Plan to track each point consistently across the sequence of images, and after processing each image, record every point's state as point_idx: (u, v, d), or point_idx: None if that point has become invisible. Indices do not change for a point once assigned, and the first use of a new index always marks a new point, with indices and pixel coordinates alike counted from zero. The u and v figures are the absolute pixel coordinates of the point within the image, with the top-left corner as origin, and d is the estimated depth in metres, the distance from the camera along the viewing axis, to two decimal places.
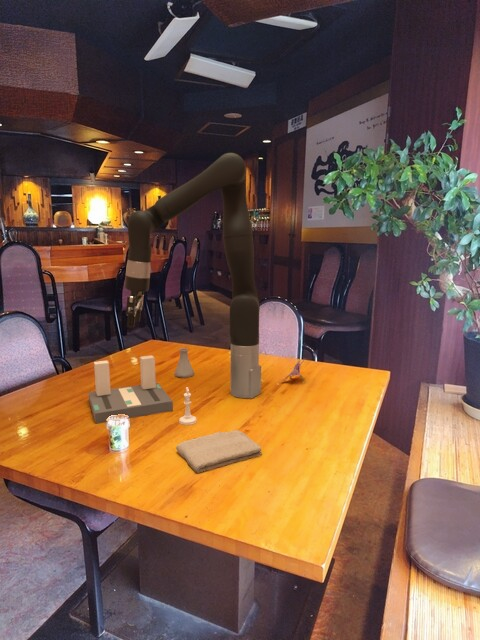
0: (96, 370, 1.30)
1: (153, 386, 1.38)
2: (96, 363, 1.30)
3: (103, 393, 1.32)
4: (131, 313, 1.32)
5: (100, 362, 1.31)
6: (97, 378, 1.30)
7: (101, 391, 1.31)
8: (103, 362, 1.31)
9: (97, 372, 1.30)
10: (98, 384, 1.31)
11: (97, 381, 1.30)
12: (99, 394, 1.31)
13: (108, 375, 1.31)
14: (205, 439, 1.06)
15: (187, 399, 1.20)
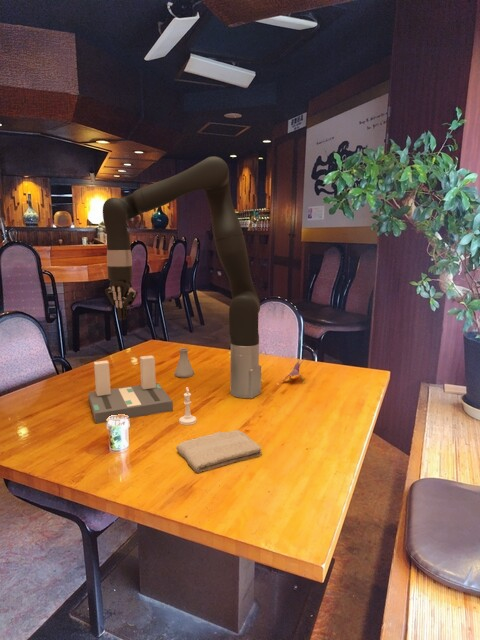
0: (96, 370, 1.30)
1: (153, 386, 1.38)
2: (96, 363, 1.30)
3: (103, 393, 1.32)
4: (130, 303, 1.36)
5: (100, 362, 1.31)
6: (97, 378, 1.30)
7: (101, 391, 1.31)
8: (103, 362, 1.31)
9: (97, 372, 1.30)
10: (98, 384, 1.31)
11: (97, 381, 1.30)
12: (99, 394, 1.31)
13: (108, 375, 1.31)
14: (206, 439, 1.06)
15: (187, 399, 1.20)
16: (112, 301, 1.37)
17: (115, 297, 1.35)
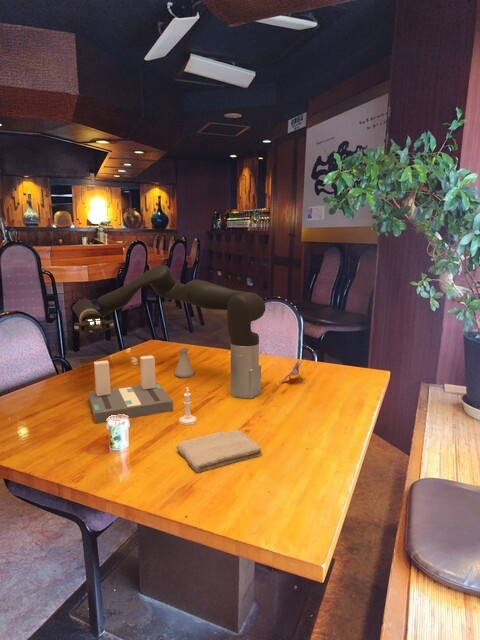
0: (96, 370, 1.30)
1: (153, 386, 1.38)
2: (96, 363, 1.30)
3: (103, 393, 1.32)
4: (105, 328, 1.40)
5: (100, 362, 1.31)
6: (97, 378, 1.30)
7: (101, 391, 1.31)
8: (103, 362, 1.31)
9: (97, 372, 1.30)
10: (98, 384, 1.31)
11: (97, 381, 1.30)
12: (99, 394, 1.31)
13: (108, 375, 1.31)
14: (206, 439, 1.06)
15: (187, 399, 1.20)
16: (85, 324, 1.38)
17: (91, 321, 1.40)
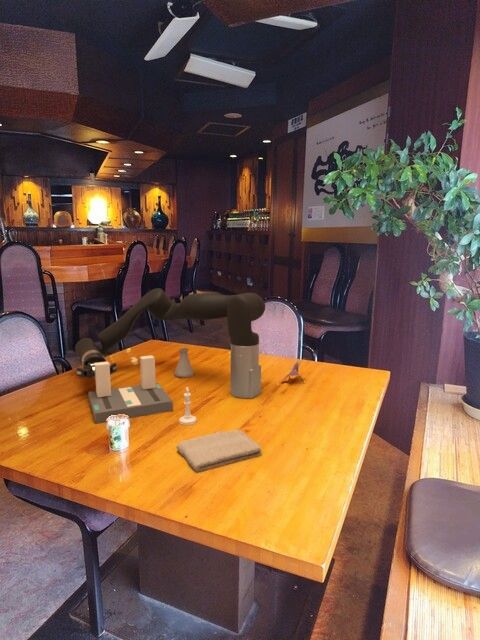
0: (96, 371, 1.28)
1: (153, 386, 1.38)
2: (96, 364, 1.29)
3: (104, 394, 1.31)
4: None
5: (100, 363, 1.30)
6: (98, 379, 1.29)
7: (101, 393, 1.30)
8: (104, 363, 1.30)
9: (98, 373, 1.29)
10: (99, 385, 1.29)
11: (98, 382, 1.29)
12: (100, 395, 1.30)
13: (109, 376, 1.30)
14: (206, 438, 1.06)
15: (187, 399, 1.20)
16: (88, 369, 1.36)
17: (94, 366, 1.38)
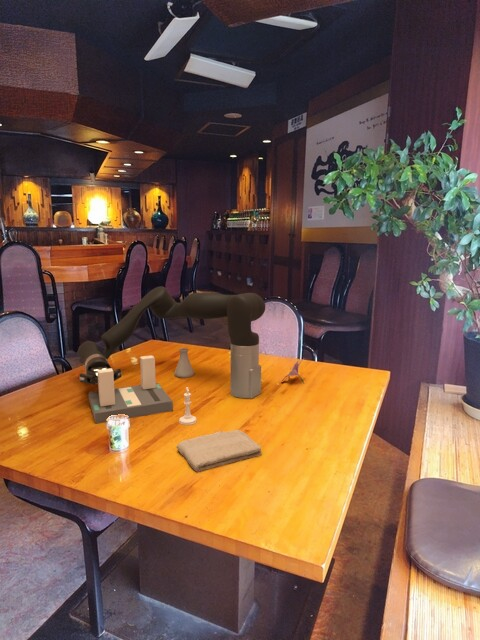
0: (100, 379, 1.22)
1: (153, 386, 1.38)
2: (100, 371, 1.22)
3: (107, 403, 1.24)
4: None
5: (104, 370, 1.23)
6: (101, 387, 1.22)
7: (105, 401, 1.23)
8: (107, 370, 1.23)
9: (101, 381, 1.22)
10: (102, 394, 1.23)
11: (101, 390, 1.22)
12: (103, 404, 1.23)
13: (112, 384, 1.23)
14: (206, 438, 1.06)
15: (187, 399, 1.20)
16: (91, 375, 1.29)
17: None
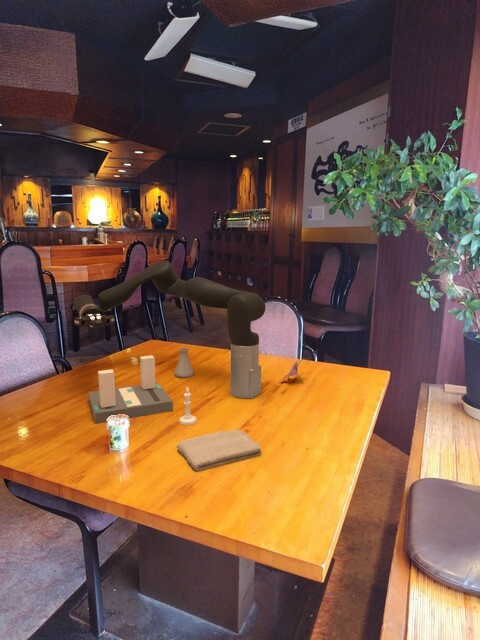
0: (100, 380, 1.21)
1: (153, 386, 1.38)
2: (100, 372, 1.21)
3: (108, 404, 1.23)
4: (106, 323, 1.39)
5: (104, 372, 1.22)
6: (101, 389, 1.21)
7: (105, 403, 1.22)
8: (108, 371, 1.22)
9: (101, 382, 1.21)
10: (102, 395, 1.22)
11: (101, 392, 1.21)
12: (103, 406, 1.22)
13: (113, 385, 1.22)
14: (206, 438, 1.06)
15: (187, 399, 1.20)
16: (86, 319, 1.36)
17: (92, 316, 1.38)
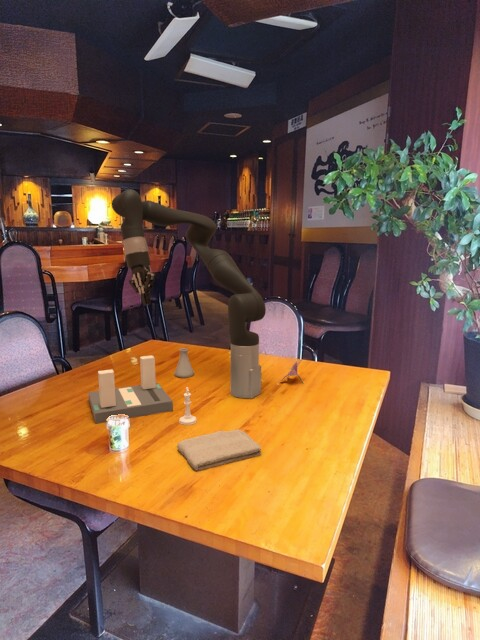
0: (100, 380, 1.21)
1: (153, 386, 1.38)
2: (100, 372, 1.21)
3: (108, 404, 1.23)
4: None
5: (104, 372, 1.22)
6: (101, 389, 1.21)
7: (105, 403, 1.22)
8: (108, 371, 1.22)
9: (101, 382, 1.21)
10: (102, 395, 1.22)
11: (101, 392, 1.21)
12: (103, 406, 1.22)
13: (113, 385, 1.22)
14: (206, 438, 1.06)
15: (187, 399, 1.20)
16: None
17: None
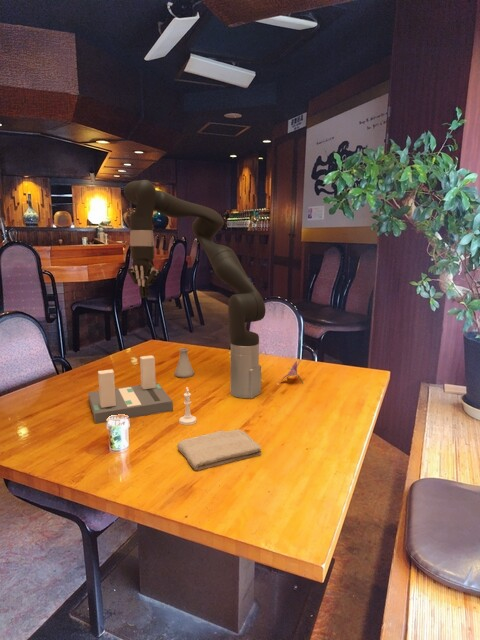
0: (100, 380, 1.21)
1: (153, 386, 1.38)
2: (100, 372, 1.21)
3: (108, 404, 1.23)
4: None
5: (104, 372, 1.22)
6: (101, 389, 1.21)
7: (105, 403, 1.22)
8: (108, 371, 1.22)
9: (101, 382, 1.21)
10: (102, 395, 1.22)
11: (101, 392, 1.21)
12: (103, 406, 1.22)
13: (113, 385, 1.22)
14: (206, 438, 1.06)
15: (187, 399, 1.20)
16: None
17: None
